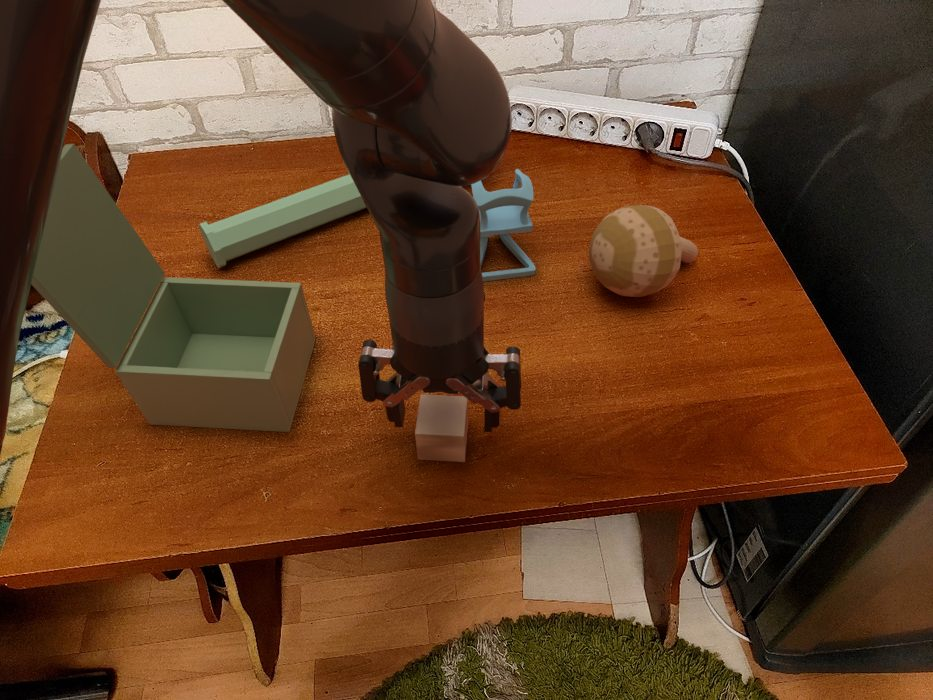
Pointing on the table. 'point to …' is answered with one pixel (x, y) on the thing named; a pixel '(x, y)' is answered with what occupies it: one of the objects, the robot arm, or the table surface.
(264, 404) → the chest
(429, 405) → the block
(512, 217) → the chair
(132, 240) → the lid
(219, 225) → the green rod
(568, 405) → the table surface
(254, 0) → the robot arm
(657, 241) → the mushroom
